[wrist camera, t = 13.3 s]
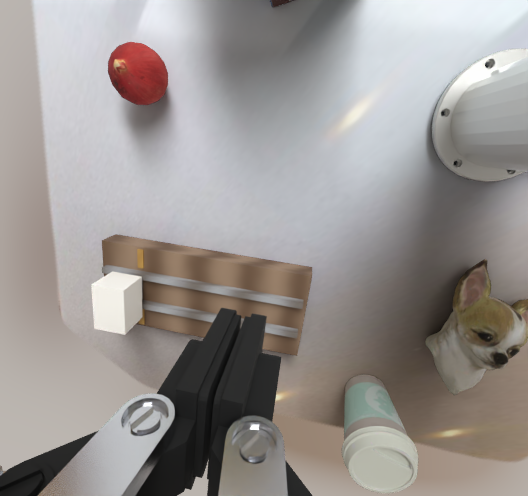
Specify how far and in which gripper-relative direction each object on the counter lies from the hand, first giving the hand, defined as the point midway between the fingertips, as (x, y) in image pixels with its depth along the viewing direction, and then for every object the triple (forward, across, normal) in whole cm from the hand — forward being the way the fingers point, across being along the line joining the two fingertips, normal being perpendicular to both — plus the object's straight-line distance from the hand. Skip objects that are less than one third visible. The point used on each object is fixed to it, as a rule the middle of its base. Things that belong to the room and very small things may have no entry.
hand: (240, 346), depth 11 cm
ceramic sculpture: (+30, -25, +11) cm, 40 cm away
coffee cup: (+29, -15, +26) cm, 42 cm away
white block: (+26, +19, +14) cm, 35 cm away
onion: (+29, +18, -12) cm, 36 cm away
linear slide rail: (+29, +10, +14) cm, 34 cm away
